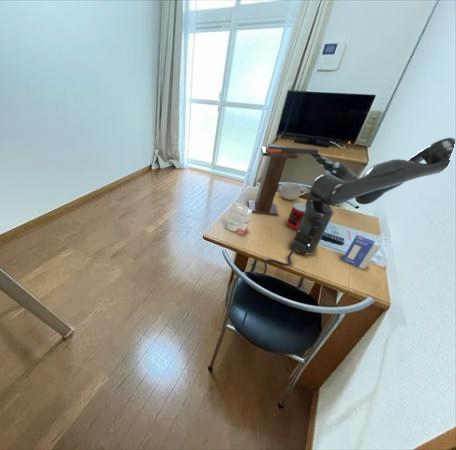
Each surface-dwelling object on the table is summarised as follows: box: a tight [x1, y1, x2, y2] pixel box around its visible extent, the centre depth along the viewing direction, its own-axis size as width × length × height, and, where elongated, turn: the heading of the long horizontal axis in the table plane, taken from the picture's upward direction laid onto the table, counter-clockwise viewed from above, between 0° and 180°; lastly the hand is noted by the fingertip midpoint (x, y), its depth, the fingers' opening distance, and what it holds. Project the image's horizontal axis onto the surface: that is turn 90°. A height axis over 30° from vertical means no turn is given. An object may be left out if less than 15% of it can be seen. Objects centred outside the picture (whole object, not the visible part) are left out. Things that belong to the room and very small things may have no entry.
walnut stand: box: [247, 146, 299, 217], centre depth 127 cm, size 15×12×32 cm
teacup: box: [279, 181, 308, 201], centre depth 144 cm, size 14×11×8 cm
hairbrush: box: [265, 143, 320, 155], centre depth 116 cm, size 22×5×2 cm, turn 76°
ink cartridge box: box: [226, 201, 252, 236], centre depth 115 cm, size 9×5×15 cm, turn 47°
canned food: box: [286, 202, 306, 231], centre depth 119 cm, size 8×8×11 cm
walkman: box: [341, 234, 382, 270], centre depth 97 cm, size 8×3×12 cm, turn 45°
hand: (314, 155), depth 115 cm, fingers open, 8 cm apart
